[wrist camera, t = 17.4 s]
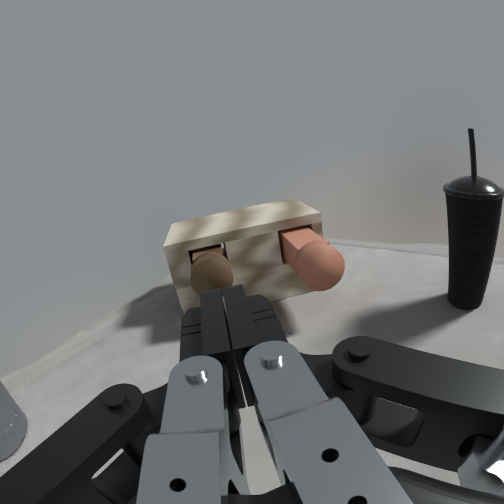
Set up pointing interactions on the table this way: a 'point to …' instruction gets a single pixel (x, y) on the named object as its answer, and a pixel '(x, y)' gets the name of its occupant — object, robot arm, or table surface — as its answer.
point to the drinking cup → (471, 233)
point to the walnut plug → (210, 269)
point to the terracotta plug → (311, 257)
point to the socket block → (242, 248)
